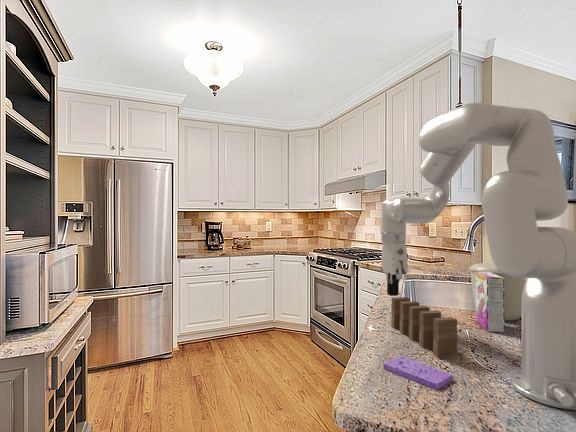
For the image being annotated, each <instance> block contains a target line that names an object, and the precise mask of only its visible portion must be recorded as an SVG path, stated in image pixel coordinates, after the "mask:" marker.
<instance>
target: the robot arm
mask: <svg viewBox="0 0 576 432" xmlns="http://www.w3.org/2000/svg"><path fill="white" fill-rule="evenodd" d="M418 142H419V143H418V144H419V147H420V148H421V150H423V151H424V152H427V156H426V157H425V159H424V160H423V162H422V164H421V165H420V168H419V173H420V174H421V176H422V177H423V178H424V179H425V180H426V181H427V182H428V183H430V184H431V185H433V187H432V189H431V191H430V192H429V193H428V195H427V196H426V197H425V198H416V197H415V198H414V197H413V198H411V197H408V198H407V197H402V198H401V197H400V198H396V199H386V200H384V201H383V202H382V203H381V243H382V244H381V245H382V246H381V247H382V248H381V258H380V260H381V261H380V262H381V264H380V266H381V270H382V271H383V272H384V275H385V276H386V277H385V278H386V295H388V296H391V297H394V296H396V297H398V296H399V294H400V293H399V289H400V287H399V284H400V282H401V280H403V277H404V276H403V275H407V274H408V270H409V267H408V266H409V265H408V261H409V260H408V249H407V240H406V238H407V236H406V235H407V224H429V223H431V222H433V221H434V220H435V219H437V218H438V217H439V215H441V213H442V212H443V210H444V209H445V208H446V206H447V205H448V202H449V199H450V194H451V193H450V192H451V188H450V181H451V180H452V178H453V177H454V176H455V174H456V173H457V172H458V170H459V169H460V168H461V166H462V165H463V164H464V162H465V161H466V159H467V158H468V157H469V155H470V153H471V152H472V151H473V150H474V148H475V147H476V145H483V146H492V147H493V146H494V147H508V149H507V152H506V165H507V168H508V169H507V170H504V171H501V172H499V173H495V175H493V176H491V178H490V179H489V180H488V181H487V182H486V184H485V186H484V189H483V191H482V195H481V209H482V215H483V220H484V225H485V231H486V237H487V243H488V249H489V253H490V256H491V260H492V259H493V262H494V264H495V265H496V267H497V268H498V270H499V271H500V272H502V273H503V274H504V275H506V276H508V277H511V278H515V279H526V282H525V285H524V288H523V292H522V314H521V373H518V374H516V375H514V376H512V379H511V384H512V387H513V388H514V389H515V390H516V392H518V393H519V394H520V395H522V396H524V397H526V398H529V399H530V400H532V401H536V402H537V403H540V404H543V405H546V406H550V407H554V408H559V409H563V410H570V411H576V232H575V231H573V230H571V229H568V228H565V227H558V226H538V224H537V222H543V221H550V220H554V219H557V218H559V217H560V216H562V215H563V214H564V213H565V212H566V210H567V208H568V205H569V197H568V191H567V187H566V182H565V179H564V173H563V170H562V169H563V168H562V166H561V161H560V157H559V154H558V151H557V146H556V140H555V132H554V127H553V124H552V121H551V120H550V118H549V117H548V115H547V114H545V113H544V112H543V111H541V110H538V109H533V108H522V107H513V106H506V105H505V106H504V105H498V104H491V103H484V102H483V103H482V102H471V103H466V104H463V105H461V106H458V107H456V108H453V109H451V110H449V111H446V112H443V113H442V114H439V115H437V116H435V117H433V118H431V119H429V120H428V121H427V122H426V123H425V124H424V126H422V129H421V130H420V132H419V136H418ZM493 262H492V263H493Z"/></svg>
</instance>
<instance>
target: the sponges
mask: <svg viewBox="0 0 576 432" xmlns="http://www.w3.org/2000/svg"><path fill="white" fill-rule="evenodd" d="M383 370H386V371H389V372H390V373H393V374H395V375H398V376H400V377H404V378H406V379H409V380H410V379H411V381H413V382H415V383H418V382H419V384H420V383H421V385H423V384H424V385H423V386H426V387H428V388H430V387H431V389H434V390H440V389H441V388H443V387H445V386H446V385H447V384H449V383H450V381H451V382H453V380H454V375H453V373H451V372H447V371H443V370H442V369H439V368H436V367H432V366H430V365H427V364H424V363H423V362H420V361H417V360H415V359H412V358H409V357H406V356H404V355H401V354H400V355H399V356H395V357H394V358H391V359H390V360H388V361H385V362H383ZM442 386H443V387H442Z"/></svg>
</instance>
